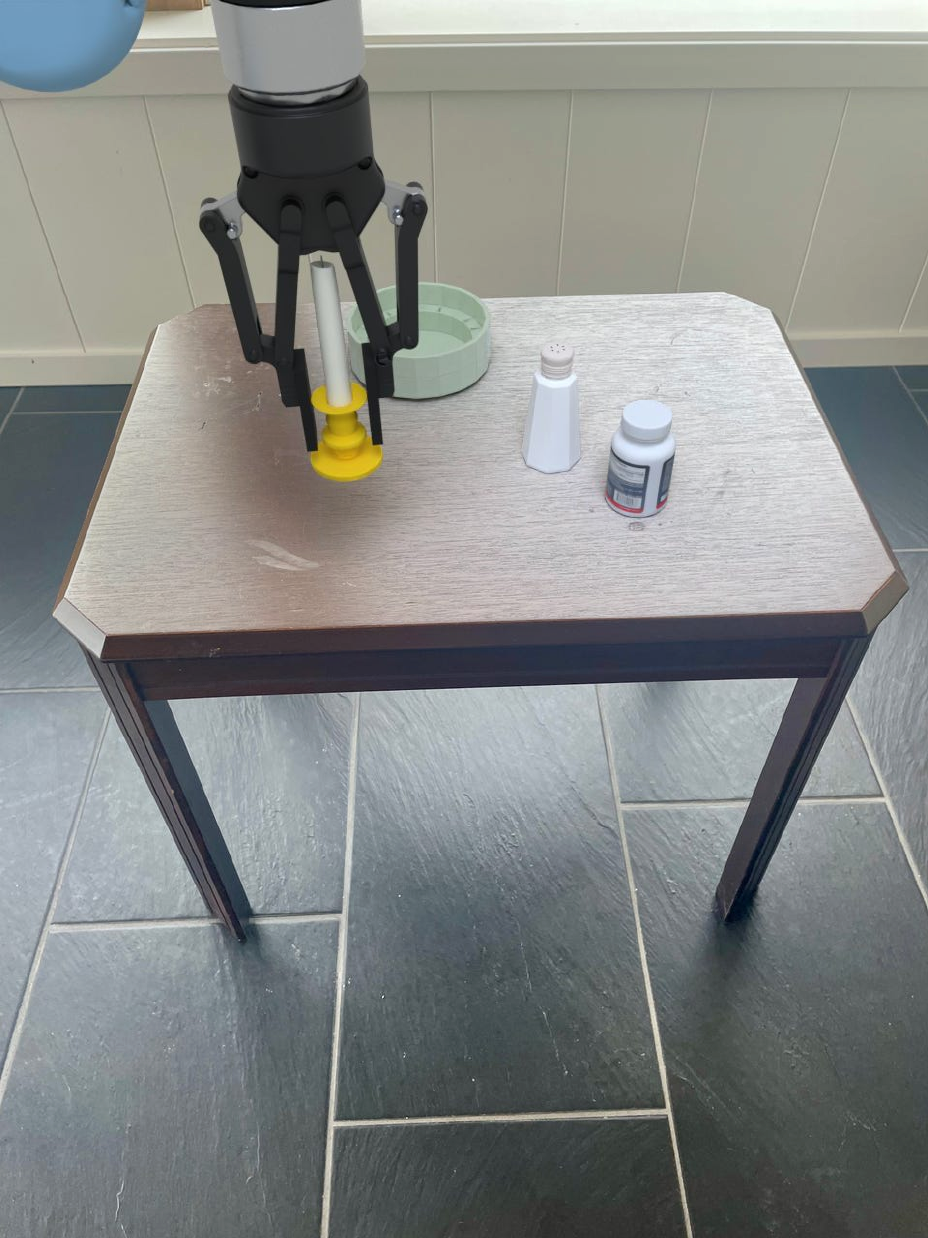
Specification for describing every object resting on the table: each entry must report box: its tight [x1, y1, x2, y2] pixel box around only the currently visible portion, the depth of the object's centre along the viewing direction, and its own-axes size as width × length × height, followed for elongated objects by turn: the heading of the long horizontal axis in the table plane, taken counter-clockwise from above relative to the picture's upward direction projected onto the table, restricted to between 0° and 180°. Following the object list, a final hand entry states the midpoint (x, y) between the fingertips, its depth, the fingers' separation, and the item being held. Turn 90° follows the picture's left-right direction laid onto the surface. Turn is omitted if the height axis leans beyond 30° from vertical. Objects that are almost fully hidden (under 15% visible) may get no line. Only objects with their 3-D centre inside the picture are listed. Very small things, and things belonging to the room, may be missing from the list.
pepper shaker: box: [520, 340, 582, 475], centre depth 83 cm, size 5×5×11 cm
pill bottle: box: [605, 399, 677, 518], centre depth 80 cm, size 5×5×9 cm
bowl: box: [345, 281, 492, 400], centre depth 96 cm, size 14×14×5 cm
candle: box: [309, 255, 384, 483], centre depth 64 cm, size 5×5×16 cm
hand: (344, 435), depth 68 cm, fingers closed on candle, 4 cm apart
